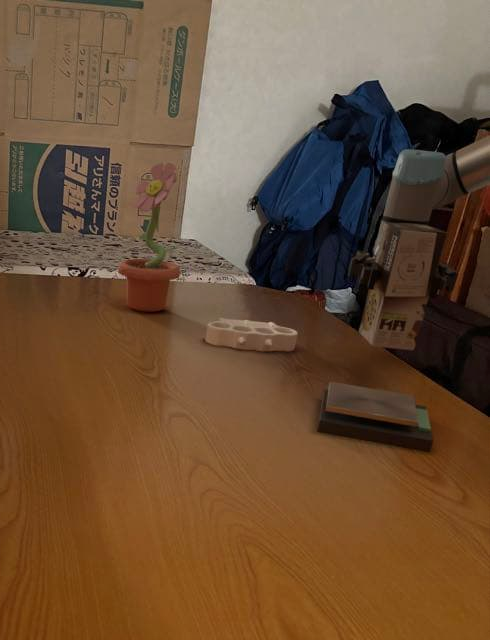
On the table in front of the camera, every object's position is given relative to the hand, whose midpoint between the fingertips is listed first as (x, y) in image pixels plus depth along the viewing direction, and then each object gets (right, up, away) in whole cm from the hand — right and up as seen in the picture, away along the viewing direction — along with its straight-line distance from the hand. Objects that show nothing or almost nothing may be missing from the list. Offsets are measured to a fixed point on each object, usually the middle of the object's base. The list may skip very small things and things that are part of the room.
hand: (404, 283), depth 107 cm
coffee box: (+1, -6, +9) cm, 11 cm away
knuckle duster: (-11, +4, +50) cm, 51 cm away
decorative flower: (-31, +17, +69) cm, 78 cm away
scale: (0, -17, +13) cm, 22 cm away
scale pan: (0, -15, +12) cm, 19 cm away
